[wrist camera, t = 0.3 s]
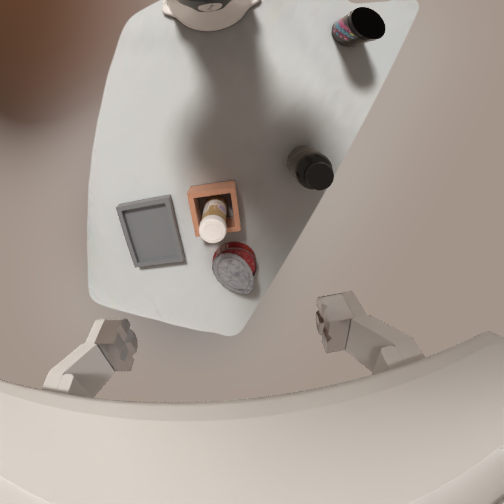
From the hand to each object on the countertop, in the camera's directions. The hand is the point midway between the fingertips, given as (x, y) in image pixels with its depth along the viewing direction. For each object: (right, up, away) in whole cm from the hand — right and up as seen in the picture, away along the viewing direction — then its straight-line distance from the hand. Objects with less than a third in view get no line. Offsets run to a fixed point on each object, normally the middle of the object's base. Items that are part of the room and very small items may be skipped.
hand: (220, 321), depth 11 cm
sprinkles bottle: (-6, +13, +46) cm, 48 cm away
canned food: (-3, +1, +53) cm, 53 cm away
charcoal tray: (-21, +7, +47) cm, 52 cm away
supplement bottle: (+12, +21, +42) cm, 49 cm away
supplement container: (+20, +47, +29) cm, 58 cm away
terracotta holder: (-6, +13, +45) cm, 48 cm away
